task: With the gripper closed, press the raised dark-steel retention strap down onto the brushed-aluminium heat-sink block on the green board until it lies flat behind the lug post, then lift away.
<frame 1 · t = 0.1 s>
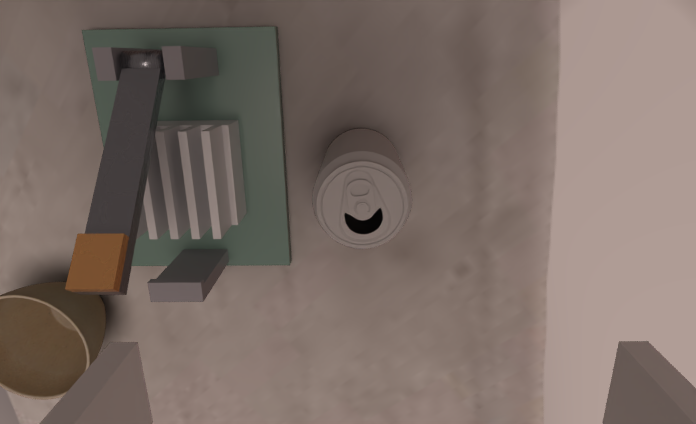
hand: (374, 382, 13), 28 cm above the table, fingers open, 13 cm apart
flower pot: (80, 304, 44), on the table
strap: (125, 159, 27), point 12 cm above the table, hinge at 40.0°
board: (197, 154, 39), on the table
beverage can: (361, 163, 39), on the table
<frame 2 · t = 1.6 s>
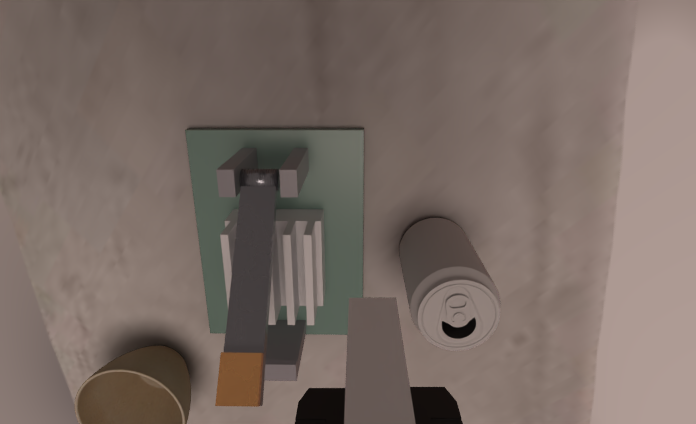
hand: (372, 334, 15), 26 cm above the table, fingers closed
flower pot: (162, 363, 48), on the table
strap: (251, 276, 30), point 12 cm above the table, hinge at 40.0°
board: (282, 236, 43), on the table
beverage can: (432, 245, 43), on the table
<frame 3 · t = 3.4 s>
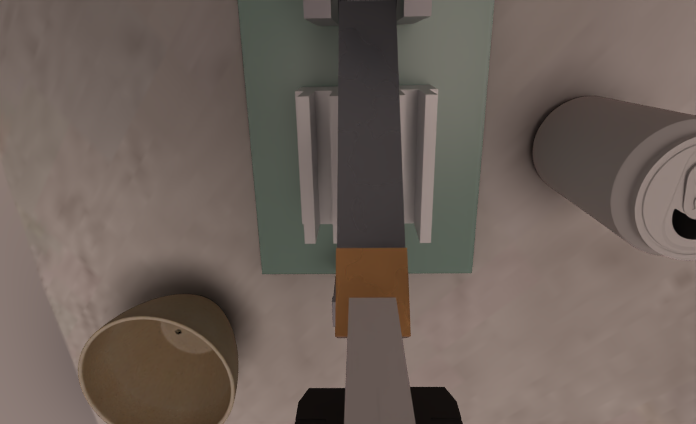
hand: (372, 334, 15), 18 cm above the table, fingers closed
flower pot: (195, 320, 36), on the table
strap: (369, 134, 18), point 12 cm above the table, hinge at 37.6°, touching gripper
board: (365, 131, 30), on the table
beverage can: (575, 143, 30), on the table
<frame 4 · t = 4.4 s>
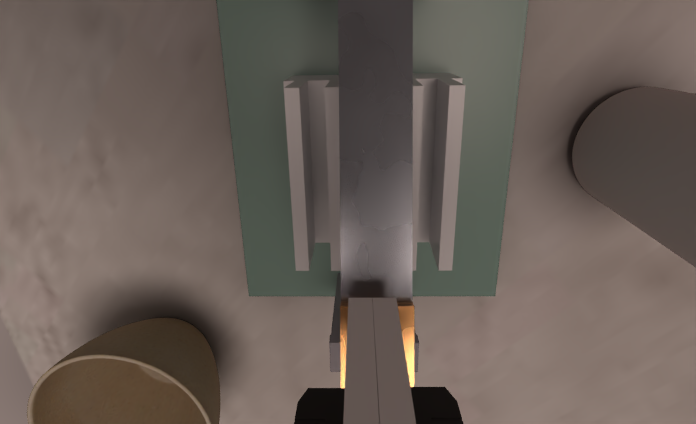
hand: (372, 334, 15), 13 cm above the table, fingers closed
flower pot: (173, 346, 31), on the table
strap: (375, 161, 16), point 10 cm above the table, hinge at 16.8°, touching gripper
board: (370, 129, 25), on the table
beverage can: (623, 143, 25), on the table
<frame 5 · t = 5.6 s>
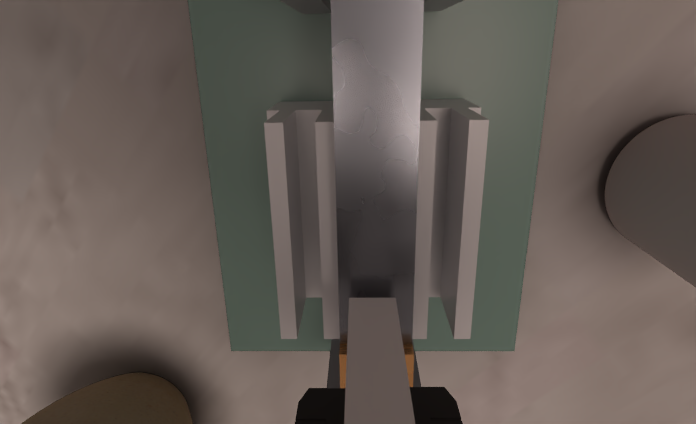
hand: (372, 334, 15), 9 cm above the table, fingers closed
flower pot: (146, 403, 27), on the table
strap: (376, 207, 14), point 8 cm above the table, hinge at 0.4°, touching gripper
board: (370, 162, 22), on the table
beverage can: (662, 178, 22), on the table
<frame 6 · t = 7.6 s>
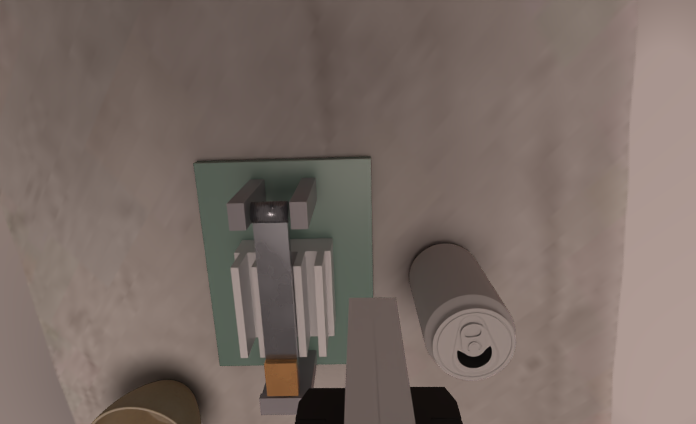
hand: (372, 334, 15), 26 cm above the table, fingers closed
flower pot: (171, 398, 47), on the table
strap: (277, 301, 35), point 8 cm above the table, hinge at 0.2°
board: (291, 265, 42), on the table
beverage can: (442, 271, 43), on the table
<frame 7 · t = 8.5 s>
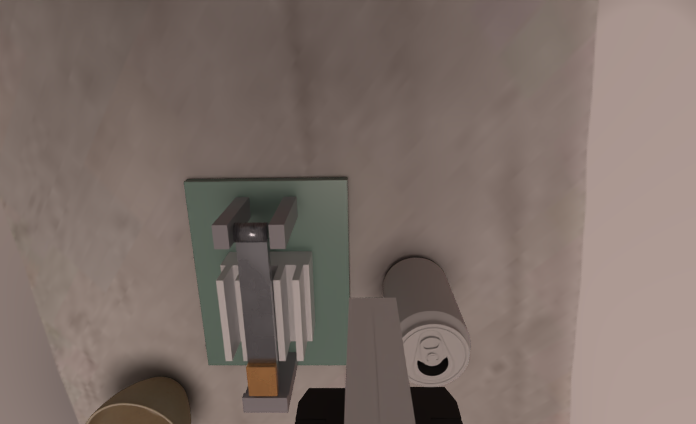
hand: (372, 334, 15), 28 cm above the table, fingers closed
flower pot: (164, 393, 51), on the table
strap: (258, 311, 39), point 8 cm above the table, hinge at 0.2°
board: (274, 275, 46), on the table
beverage can: (413, 282, 46), on the table
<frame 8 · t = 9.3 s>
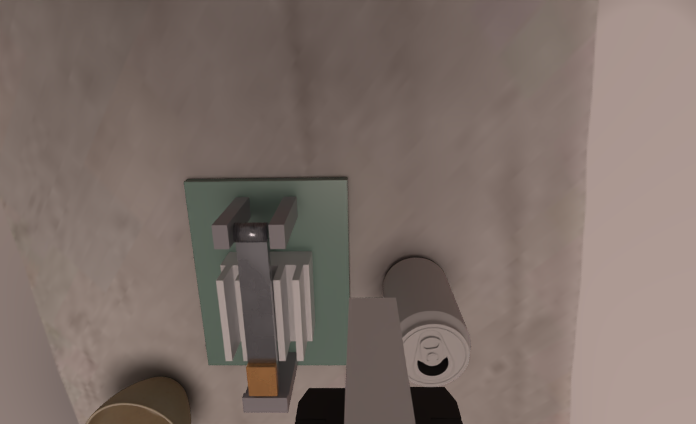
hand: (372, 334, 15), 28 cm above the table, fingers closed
flower pot: (164, 393, 51), on the table
strap: (258, 311, 39), point 8 cm above the table, hinge at 0.2°
board: (274, 275, 46), on the table
beverage can: (413, 282, 46), on the table
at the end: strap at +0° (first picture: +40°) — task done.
